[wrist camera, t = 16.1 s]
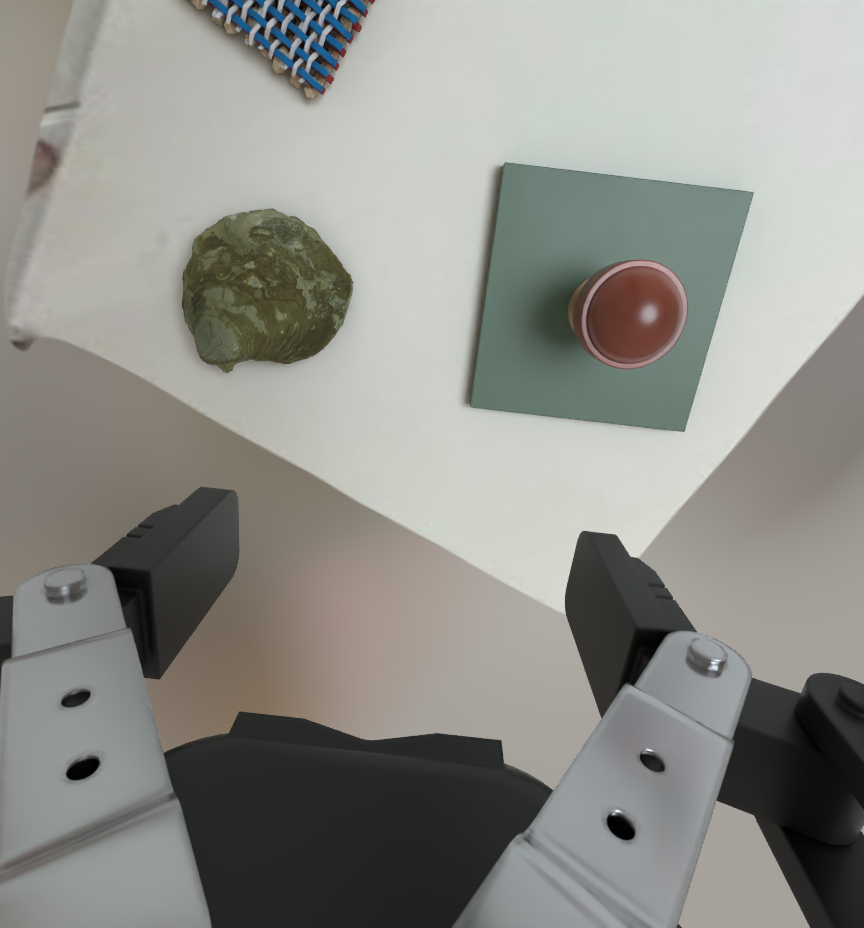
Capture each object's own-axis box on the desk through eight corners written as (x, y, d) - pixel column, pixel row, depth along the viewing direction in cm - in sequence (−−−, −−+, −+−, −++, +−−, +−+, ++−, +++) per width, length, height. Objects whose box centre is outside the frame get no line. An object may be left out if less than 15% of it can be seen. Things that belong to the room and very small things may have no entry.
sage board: (502, 165, 34) (504, 162, 33) (744, 194, 34) (754, 192, 33) (469, 403, 40) (470, 407, 39) (677, 427, 40) (684, 432, 39)
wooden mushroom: (566, 257, 35) (603, 251, 27) (655, 267, 35) (719, 265, 27) (549, 347, 37) (578, 369, 29) (633, 357, 37) (686, 381, 29)
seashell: (373, 269, 35) (271, 358, 30) (356, 336, 41) (269, 418, 36) (252, 178, 35) (131, 251, 30) (253, 259, 41) (154, 330, 37)
